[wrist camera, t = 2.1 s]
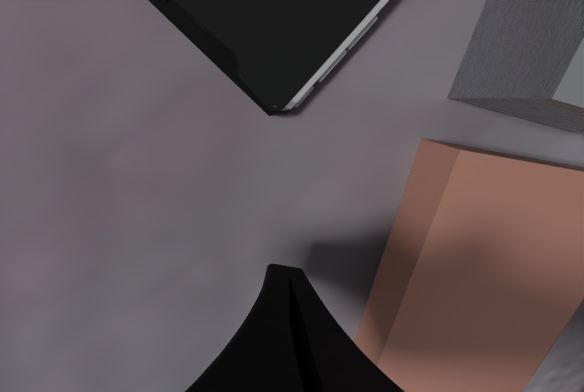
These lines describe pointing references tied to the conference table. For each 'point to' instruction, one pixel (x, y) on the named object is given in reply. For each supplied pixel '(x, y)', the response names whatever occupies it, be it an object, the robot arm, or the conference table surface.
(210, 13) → the smartphone
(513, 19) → the grey rectangular block
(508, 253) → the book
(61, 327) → the conference table surface
